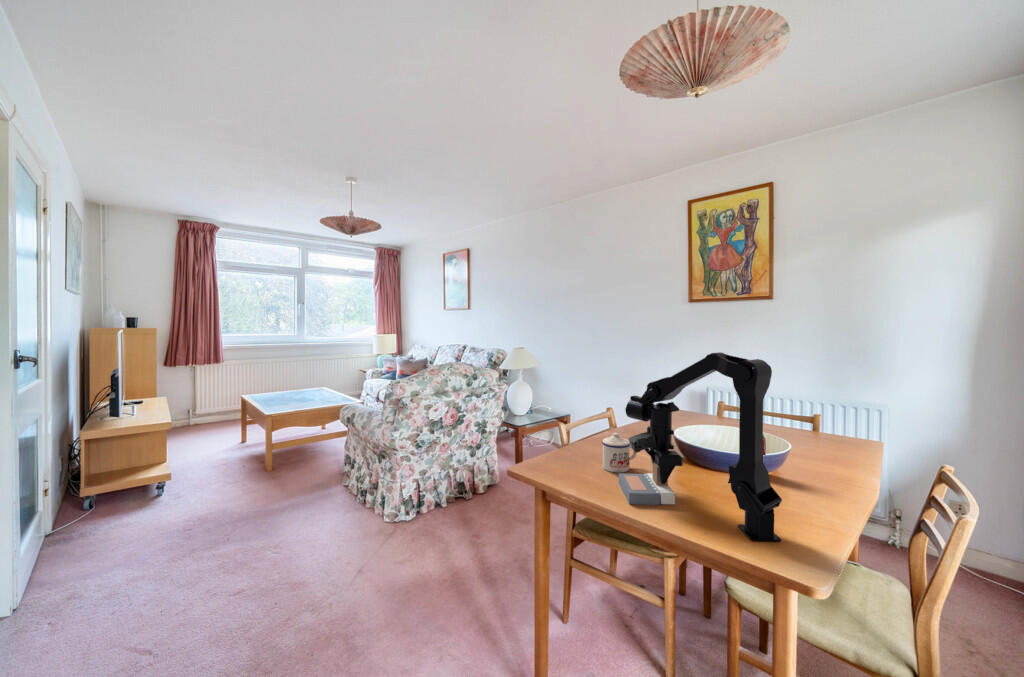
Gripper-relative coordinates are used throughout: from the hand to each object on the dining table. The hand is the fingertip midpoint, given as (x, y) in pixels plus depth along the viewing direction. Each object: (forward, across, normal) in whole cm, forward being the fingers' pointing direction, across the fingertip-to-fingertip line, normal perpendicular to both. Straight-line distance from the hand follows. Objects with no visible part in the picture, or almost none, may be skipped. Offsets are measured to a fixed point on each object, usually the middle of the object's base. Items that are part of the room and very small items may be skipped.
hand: (660, 479), depth 115 cm
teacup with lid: (+4, -20, -7) cm, 22 cm away
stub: (+4, 0, 0) cm, 4 cm away
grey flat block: (+4, 0, -6) cm, 7 cm away
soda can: (+4, -17, +34) cm, 38 cm away
